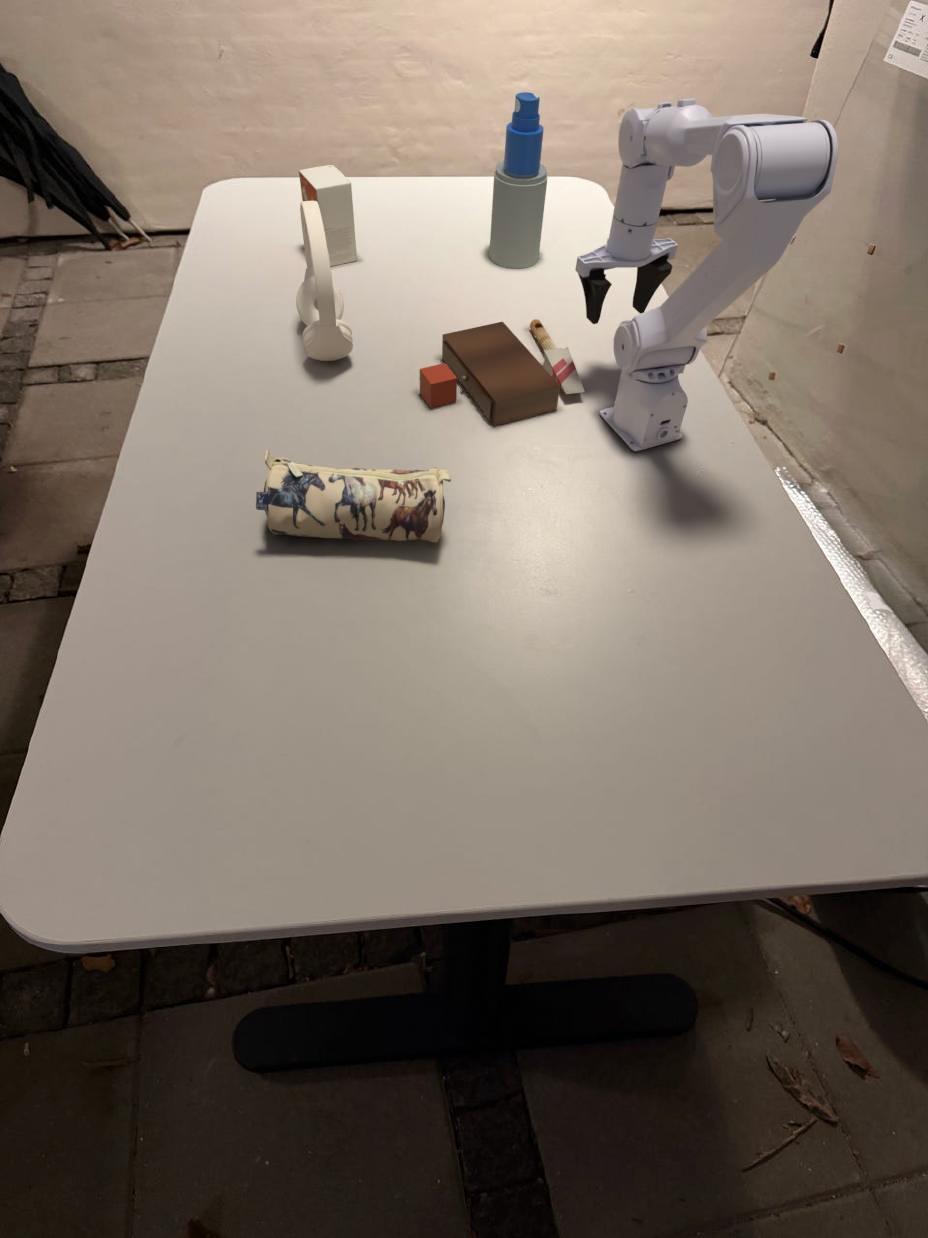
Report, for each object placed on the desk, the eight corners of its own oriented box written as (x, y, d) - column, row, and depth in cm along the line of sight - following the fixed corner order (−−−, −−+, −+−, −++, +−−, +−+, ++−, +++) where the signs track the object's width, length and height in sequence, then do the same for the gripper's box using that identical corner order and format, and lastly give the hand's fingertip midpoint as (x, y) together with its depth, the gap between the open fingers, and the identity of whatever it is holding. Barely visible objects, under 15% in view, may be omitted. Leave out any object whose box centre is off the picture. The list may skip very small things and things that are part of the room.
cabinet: (556, 409, 110) (560, 385, 107) (488, 427, 107) (490, 403, 104) (500, 344, 120) (502, 321, 117) (437, 359, 117) (437, 335, 114)
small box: (307, 247, 138) (297, 169, 128) (340, 241, 140) (333, 163, 130) (324, 268, 134) (315, 188, 124) (358, 261, 136) (352, 181, 126)
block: (457, 377, 108) (430, 384, 106) (456, 402, 111) (430, 408, 109) (445, 362, 110) (419, 368, 109) (444, 386, 113) (419, 393, 112)
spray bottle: (502, 272, 135) (515, 108, 116) (480, 249, 140) (489, 88, 121) (547, 263, 138) (566, 101, 118) (524, 241, 143) (539, 82, 123)
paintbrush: (563, 385, 109) (524, 316, 122) (561, 402, 111) (523, 333, 124) (589, 382, 109) (548, 314, 122) (587, 399, 111) (546, 330, 124)
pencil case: (262, 550, 91) (247, 486, 83) (276, 500, 96) (263, 437, 89) (448, 559, 91) (449, 496, 84) (451, 509, 96) (453, 446, 89)
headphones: (309, 380, 113) (290, 242, 97) (297, 315, 124) (278, 181, 108) (358, 375, 114) (347, 238, 98) (341, 311, 125) (329, 178, 110)
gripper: (665, 194, 103) (643, 291, 113) (570, 211, 99) (556, 310, 109) (696, 217, 99) (670, 315, 110) (599, 236, 95) (581, 336, 105)
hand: (615, 314), depth 109 cm, fingers open, 7 cm apart
